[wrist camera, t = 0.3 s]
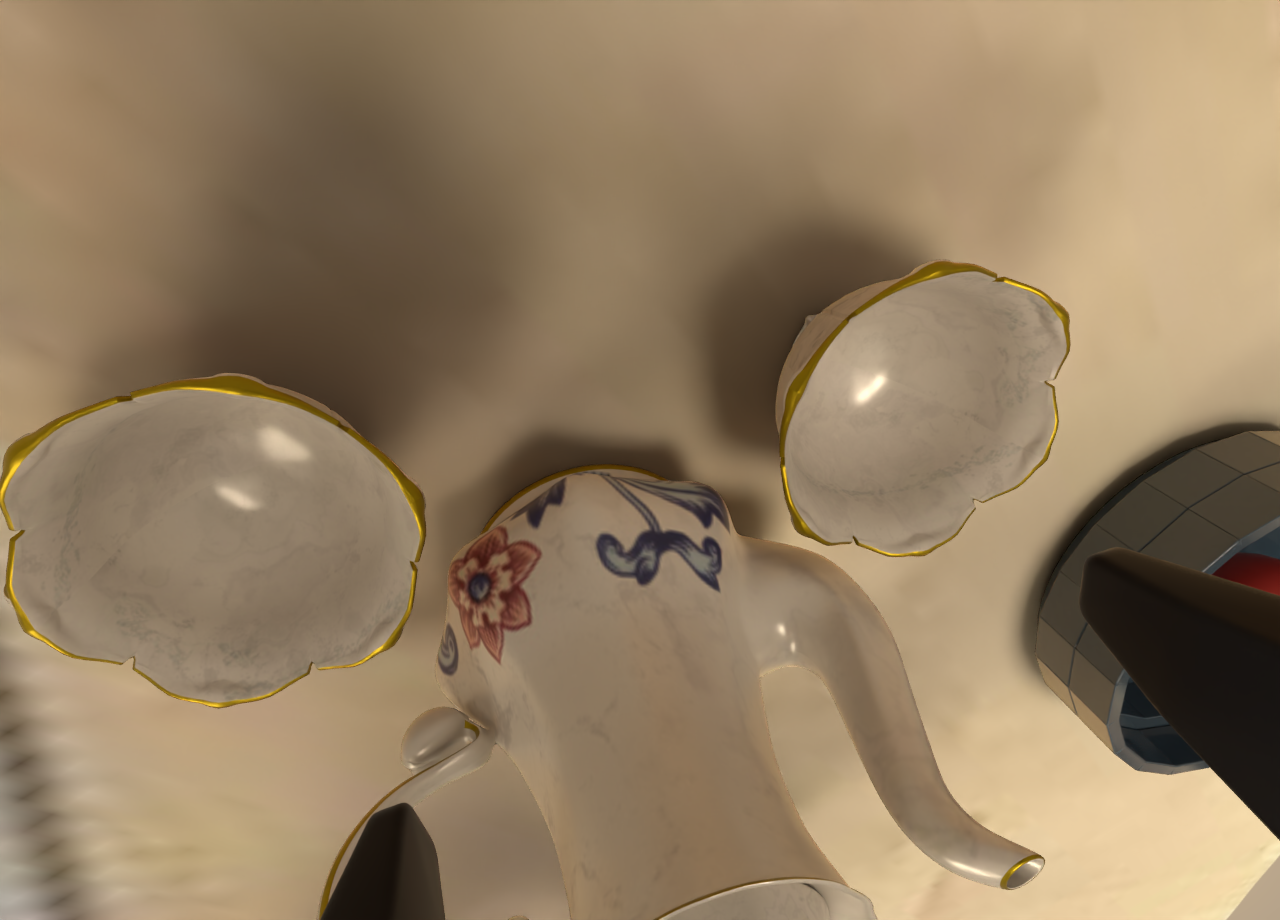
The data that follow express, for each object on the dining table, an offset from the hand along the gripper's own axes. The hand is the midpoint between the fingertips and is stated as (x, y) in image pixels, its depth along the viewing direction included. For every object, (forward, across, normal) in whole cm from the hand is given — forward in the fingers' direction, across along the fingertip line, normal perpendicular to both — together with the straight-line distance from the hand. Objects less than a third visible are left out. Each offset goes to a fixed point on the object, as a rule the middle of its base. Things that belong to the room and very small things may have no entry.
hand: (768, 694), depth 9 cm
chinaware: (+15, +1, +6) cm, 16 cm away
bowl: (+14, -24, +19) cm, 34 cm away
